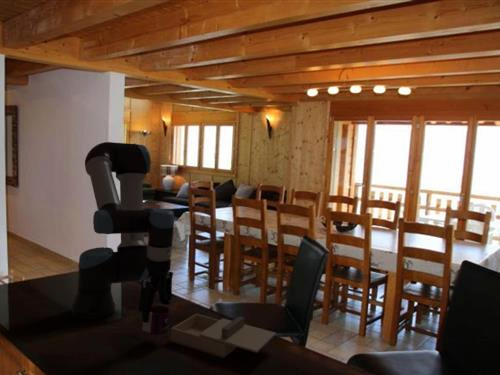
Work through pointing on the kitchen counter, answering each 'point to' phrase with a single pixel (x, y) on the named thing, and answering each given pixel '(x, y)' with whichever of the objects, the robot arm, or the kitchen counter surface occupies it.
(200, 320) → the beige open box
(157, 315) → the mug
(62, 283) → the kitchen counter surface
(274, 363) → the kitchen counter surface
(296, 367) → the kitchen counter surface
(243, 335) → the lid
